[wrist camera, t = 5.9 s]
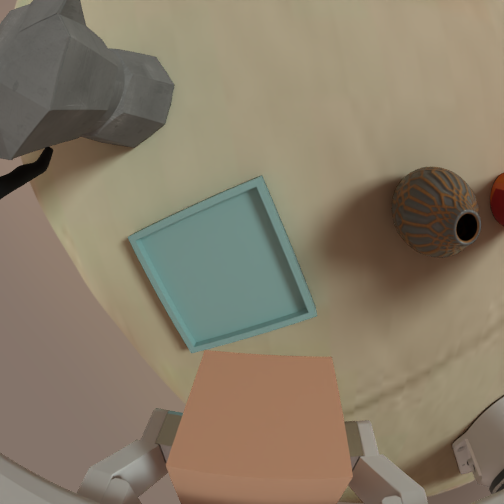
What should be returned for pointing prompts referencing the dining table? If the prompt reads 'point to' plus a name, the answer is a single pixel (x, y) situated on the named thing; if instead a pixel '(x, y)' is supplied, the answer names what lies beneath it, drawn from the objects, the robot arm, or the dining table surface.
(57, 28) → the coffeepot
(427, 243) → the vase
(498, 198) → the paper cup
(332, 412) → the terracotta block
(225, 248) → the tray
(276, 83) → the dining table surface
